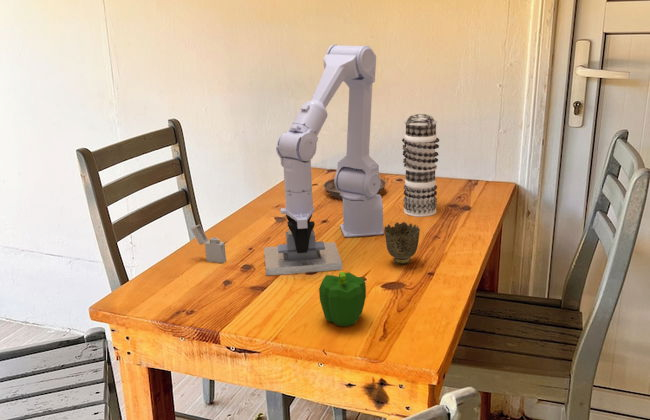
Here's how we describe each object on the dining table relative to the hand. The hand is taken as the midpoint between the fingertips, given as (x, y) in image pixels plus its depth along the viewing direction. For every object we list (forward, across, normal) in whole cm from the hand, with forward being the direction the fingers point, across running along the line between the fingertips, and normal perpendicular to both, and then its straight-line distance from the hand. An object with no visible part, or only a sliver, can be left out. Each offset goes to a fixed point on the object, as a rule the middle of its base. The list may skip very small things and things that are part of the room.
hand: (301, 248), depth 147 cm
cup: (+3, +5, +21) cm, 22 cm away
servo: (+2, 0, 0) cm, 2 cm away
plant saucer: (+3, -47, +19) cm, 51 cm away
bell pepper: (+3, +28, +5) cm, 29 cm away
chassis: (+3, 0, 0) cm, 3 cm away
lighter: (+3, -5, -20) cm, 21 cm away
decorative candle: (+3, -27, +33) cm, 43 cm away
